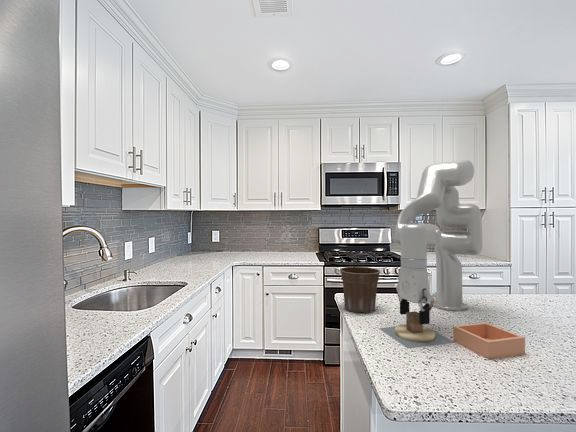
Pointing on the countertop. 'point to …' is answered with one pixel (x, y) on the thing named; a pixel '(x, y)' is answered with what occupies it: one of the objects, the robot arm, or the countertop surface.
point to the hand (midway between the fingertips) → (414, 318)
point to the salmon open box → (489, 340)
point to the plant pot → (360, 288)
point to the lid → (414, 329)
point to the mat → (409, 344)
